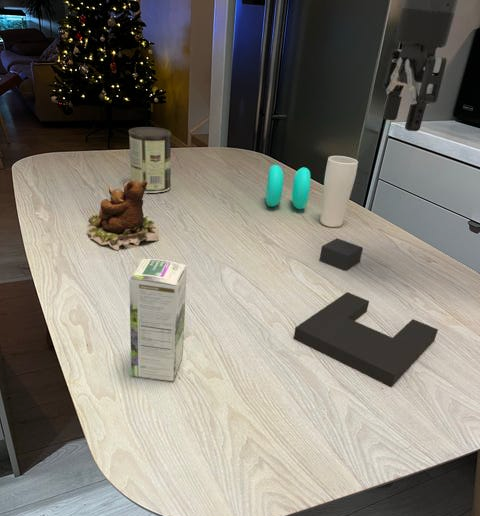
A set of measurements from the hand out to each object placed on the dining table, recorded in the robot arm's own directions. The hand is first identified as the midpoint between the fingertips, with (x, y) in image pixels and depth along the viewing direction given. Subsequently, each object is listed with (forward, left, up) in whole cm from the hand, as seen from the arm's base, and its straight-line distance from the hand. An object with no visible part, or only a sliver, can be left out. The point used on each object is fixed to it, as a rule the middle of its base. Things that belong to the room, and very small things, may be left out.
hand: (399, 124), depth 81 cm
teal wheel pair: (-19, -32, -28) cm, 47 cm away
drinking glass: (-18, -18, -28) cm, 38 cm away
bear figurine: (+23, -44, -28) cm, 57 cm away
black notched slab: (+21, +11, -27) cm, 36 cm away
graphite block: (-1, -6, -27) cm, 28 cm away
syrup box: (+48, -6, -28) cm, 55 cm away
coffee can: (-2, -63, -28) cm, 69 cm away
